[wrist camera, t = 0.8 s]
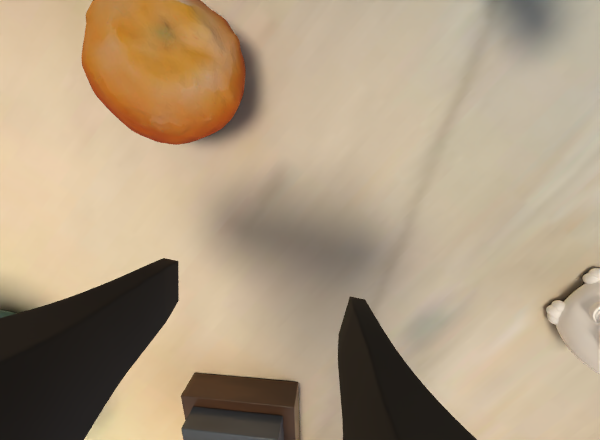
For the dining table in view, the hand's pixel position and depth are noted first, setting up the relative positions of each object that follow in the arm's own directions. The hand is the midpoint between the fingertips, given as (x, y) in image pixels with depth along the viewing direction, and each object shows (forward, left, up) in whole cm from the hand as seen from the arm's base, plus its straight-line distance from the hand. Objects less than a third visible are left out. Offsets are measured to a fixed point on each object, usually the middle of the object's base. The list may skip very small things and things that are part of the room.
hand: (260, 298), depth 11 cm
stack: (-20, +5, -10) cm, 23 cm away
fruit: (+10, +6, -10) cm, 16 cm away
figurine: (-6, -22, -10) cm, 25 cm away
